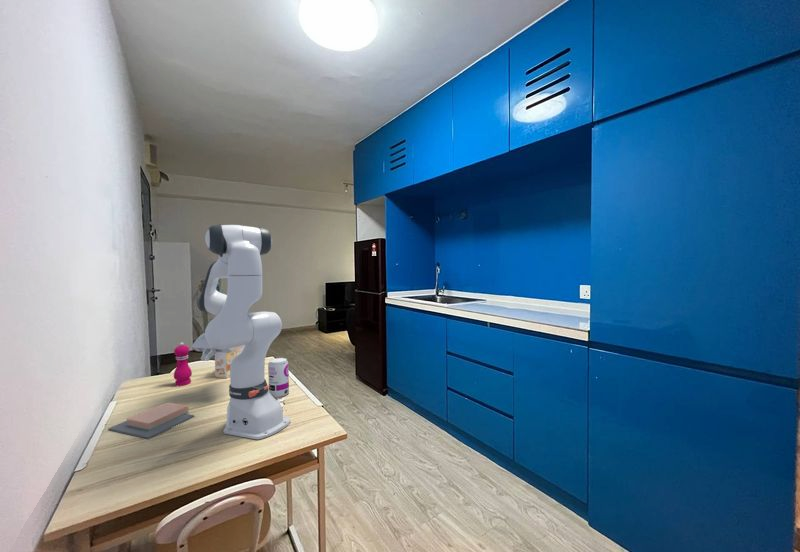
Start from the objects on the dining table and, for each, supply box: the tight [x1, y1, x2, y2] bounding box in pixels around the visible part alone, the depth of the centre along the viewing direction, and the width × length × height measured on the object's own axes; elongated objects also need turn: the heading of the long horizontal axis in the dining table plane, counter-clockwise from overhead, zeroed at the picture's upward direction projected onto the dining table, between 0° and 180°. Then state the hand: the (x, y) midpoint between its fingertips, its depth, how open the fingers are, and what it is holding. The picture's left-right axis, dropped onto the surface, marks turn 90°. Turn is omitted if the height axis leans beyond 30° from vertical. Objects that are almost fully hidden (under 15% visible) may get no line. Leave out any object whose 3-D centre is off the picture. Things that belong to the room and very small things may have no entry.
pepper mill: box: [173, 341, 193, 387], centre depth 153 cm, size 7×7×20 cm
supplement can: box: [267, 357, 290, 398], centre depth 139 cm, size 8×8×15 cm
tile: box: [126, 402, 189, 431], centre depth 117 cm, size 2×11×14 cm
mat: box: [108, 413, 195, 440], centre depth 115 cm, size 16×20×1 cm
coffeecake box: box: [214, 345, 245, 379], centre depth 168 cm, size 15×7×20 cm, turn 168°
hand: (204, 360), depth 134 cm, fingers closed
